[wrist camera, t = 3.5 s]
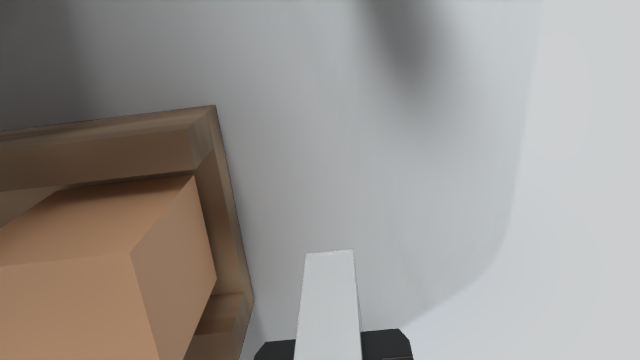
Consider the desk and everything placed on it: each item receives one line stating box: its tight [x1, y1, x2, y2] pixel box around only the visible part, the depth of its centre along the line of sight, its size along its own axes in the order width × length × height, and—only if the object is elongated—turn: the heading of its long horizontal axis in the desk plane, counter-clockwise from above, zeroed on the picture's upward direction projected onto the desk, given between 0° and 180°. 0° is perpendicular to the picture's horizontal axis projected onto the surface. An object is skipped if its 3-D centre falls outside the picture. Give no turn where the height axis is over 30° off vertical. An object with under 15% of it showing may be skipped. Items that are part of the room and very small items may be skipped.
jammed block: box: [0, 175, 217, 360], centre depth 18 cm, size 5×6×7 cm
